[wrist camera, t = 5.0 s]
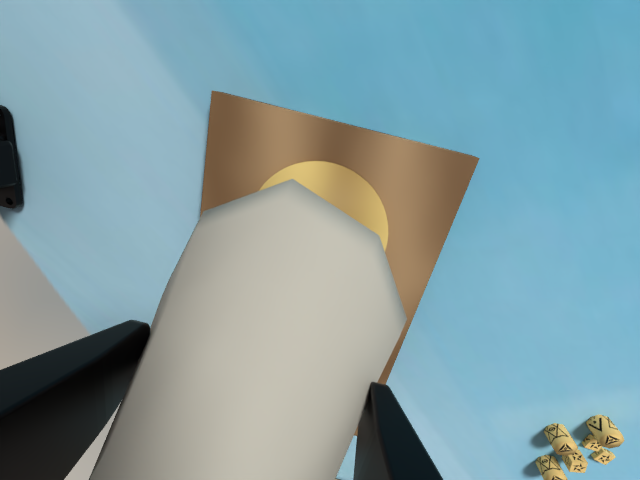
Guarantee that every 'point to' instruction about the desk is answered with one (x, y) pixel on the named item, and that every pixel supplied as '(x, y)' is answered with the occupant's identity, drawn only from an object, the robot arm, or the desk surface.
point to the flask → (259, 347)
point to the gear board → (343, 181)
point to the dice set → (573, 458)
